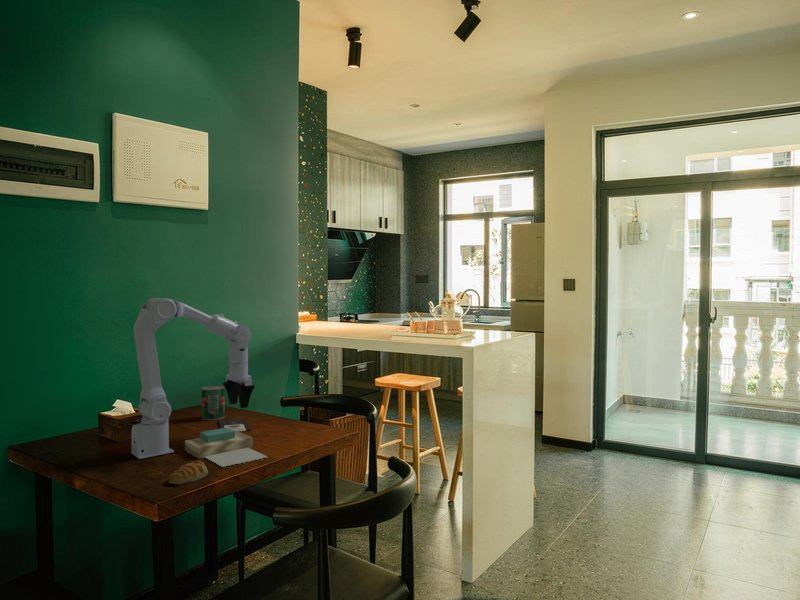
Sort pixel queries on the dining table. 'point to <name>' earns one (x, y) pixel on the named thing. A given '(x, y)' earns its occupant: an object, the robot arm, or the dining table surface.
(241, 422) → the chocolate bar
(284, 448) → the dining table surface
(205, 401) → the canned tomato
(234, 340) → the robot arm
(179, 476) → the pastry
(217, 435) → the tile
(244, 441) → the beige flat block
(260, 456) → the mat
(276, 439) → the dining table surface
